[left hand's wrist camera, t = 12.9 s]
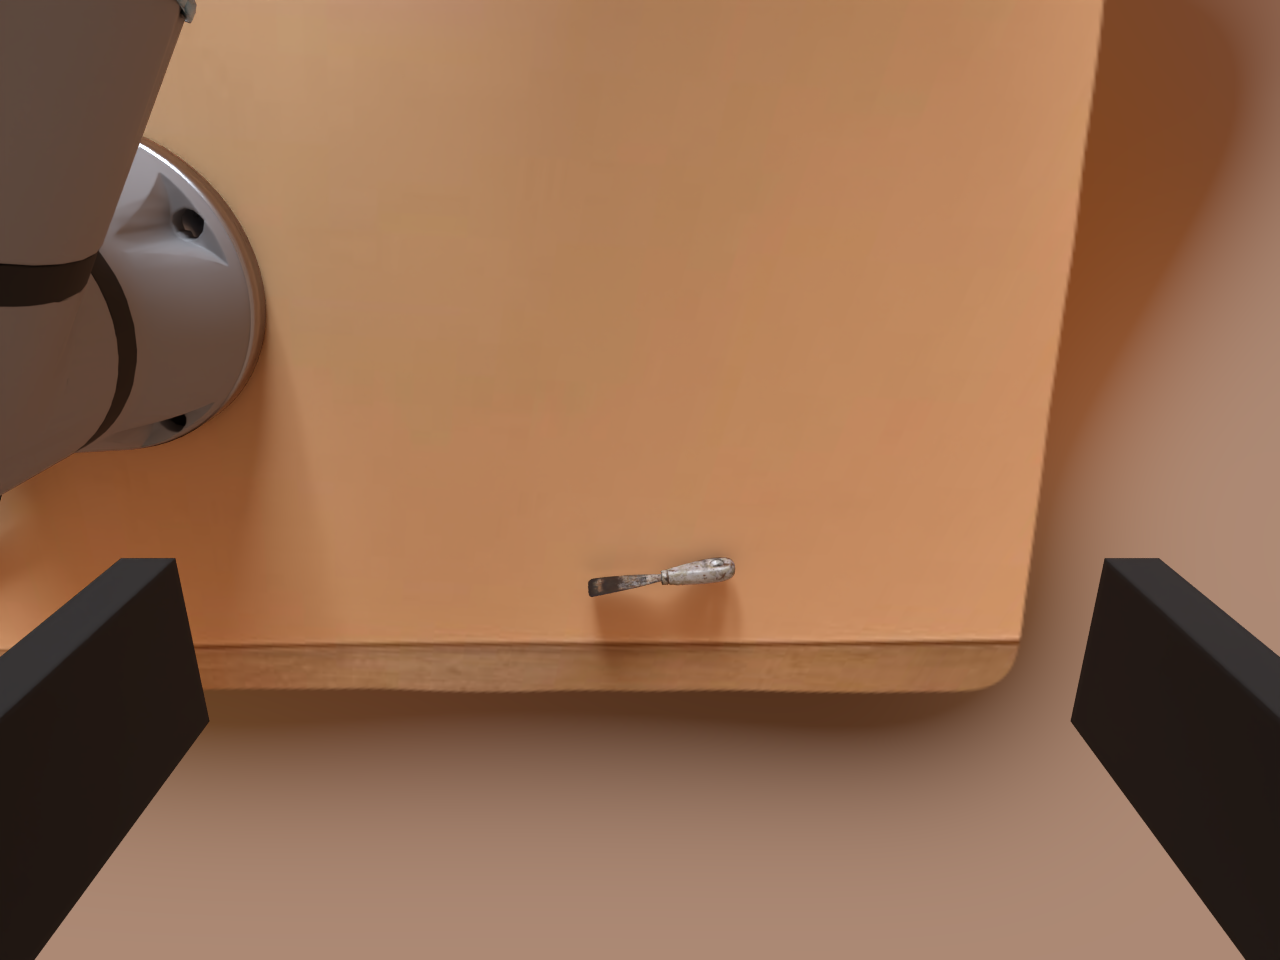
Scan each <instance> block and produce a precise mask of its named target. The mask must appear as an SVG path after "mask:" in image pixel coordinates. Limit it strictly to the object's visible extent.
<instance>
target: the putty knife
mask: <svg viewBox="0 0 1280 960" xmlns="http://www.w3.org/2000/svg"><path fill="white" fill-rule="evenodd" d="M734 574H735V565H734V562H733V561H732V560H731V559H729V558H711V559H704V560H700V561H695V562H691V563H688V564H683V565H680V566H676V567H673V568H670V569H666V570H663V571H661V574H650V575H627V576H613V577H603V578H595V579H591V580H590V581H589V582H588V585H589V586H588V590H589V591H588V593H589V596H591V597H594V596H599V595H604V594H609V593H613V592H618V591H623V590H627V589H632V588H636V587H640V586H644V585H648V584H652V583H655V582H660V581H662V585H668V584H670V585H690V584H705V583H714V582H721V581H725V580H728V579H730V578H732V577H733V575H734Z"/></svg>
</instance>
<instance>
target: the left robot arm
mask: <svg viewBox="0 0 1280 960" xmlns="http://www.w3.org/2000/svg"><path fill="white" fill-rule="evenodd" d="M195 13H196V3H195V0H0V500H1V496H2V494H4V493H5V492H7V491H9V490H11V489H12V488H14V487H16V486H18V485H19V484H21V483H23V482H25V481H26V480H28V479H30V478H31V477H33V476H35V475H37V474H38V473H40V472H42V471H44V470H45V469H47V468H49V467H51V466H52V465H54V464H56V463H58V462H59V461H61V460H63V459H64V458H66V457H68V456H70V455H71V454H73V453H79V452H98V451H117V450H132V449H139V448H145V447H151V446H156V445H160V444H163V443H167V442H170V441H172V440H175V439H177V438H180V437H182V436H184V435H186V434H188V433H190V432H192V431H193V430H195V429H197V428H198V427H200V426H201V425H203V424H204V423H206V422H207V421H209V420H210V419H212V418H213V417H214V416H216V415H217V414H219V413H220V412H221V411H222V410H224V409H225V408H226V407H227V406H228V405H229V404H230V403H231V402H232V401H233V400H234V399H235V398H236V397H237V396H238V394H239V393H240V392H241V390H242V389H243V387H244V386H245V385H246V383H247V381H248V380H249V378H250V376H251V374H252V372H253V370H254V368H255V365H256V363H257V361H258V358H259V355H260V351H261V348H262V344H263V338H264V332H265V319H266V309H265V295H264V288H263V282H262V278H261V274H260V269H259V266H258V263H257V260H256V257H255V254H254V252H253V249H252V247H251V245H250V242H249V240H248V238H247V236H246V234H245V232H244V230H243V228H242V227H241V225H240V223H239V221H238V220H237V218H236V217H235V215H234V214H233V212H232V211H231V209H230V208H229V206H228V205H227V204H226V202H225V201H224V200H223V199H222V197H221V196H220V195H219V193H218V192H217V191H216V190H215V189H214V188H213V187H212V186H211V185H210V184H209V183H208V182H207V180H205V179H204V178H203V177H202V176H201V175H200V174H199V173H198V172H197V171H196V170H195V169H194V168H192V167H191V166H190V165H188V164H187V163H186V162H185V161H183V160H182V159H181V158H179V157H178V156H176V155H175V154H173V153H172V152H170V151H169V150H167V149H166V148H164V147H162V146H160V145H159V144H157V143H155V142H153V141H151V140H149V139H147V138H145V137H143V133H144V130H145V128H146V125H147V122H148V119H149V117H150V114H151V111H152V108H153V106H154V103H155V100H156V97H157V95H158V92H159V89H160V86H161V84H162V81H163V78H164V75H165V73H166V70H167V67H168V64H169V62H170V59H171V56H172V54H173V51H174V48H175V45H176V43H177V40H178V37H179V34H180V32H181V29H182V26H183V23H184V21H185V22H188V23H191V22H192V20H193V17H194V15H195ZM208 722H209V717H208V712H207V708H206V703H205V698H204V693H203V688H202V684H201V679H200V674H199V669H198V664H197V660H196V655H195V650H194V645H193V641H192V636H191V631H190V626H189V621H188V617H187V612H186V607H185V602H184V598H183V593H182V588H181V583H180V578H179V574H178V569H177V564H176V559H175V558H121V559H120V560H118V561H117V562H116V563H115V564H113V565H112V566H111V567H110V568H109V569H107V570H106V571H105V572H104V573H102V574H101V575H100V576H99V577H98V578H96V579H95V580H94V581H93V582H91V583H90V584H89V585H88V586H87V587H85V588H84V589H83V590H82V591H80V592H79V593H78V594H77V595H76V596H74V597H73V598H72V599H71V600H69V601H68V602H67V603H66V604H65V605H63V606H62V607H61V608H60V609H58V610H57V611H56V612H55V613H54V614H52V615H51V616H50V617H49V618H47V619H46V620H45V621H44V622H43V623H41V624H40V625H39V626H38V627H36V628H35V629H34V630H33V631H32V632H30V633H29V634H28V635H27V636H25V637H24V638H23V639H22V640H20V641H19V642H18V643H17V644H16V645H14V646H13V647H12V648H11V649H9V650H8V651H7V652H6V653H5V654H3V655H2V656H1V657H0V960H35V958H36V957H37V956H38V954H39V953H40V951H41V950H42V949H43V947H44V946H45V945H46V943H47V942H48V941H49V939H50V938H51V936H52V935H53V934H54V932H55V931H56V930H57V928H58V927H59V926H60V924H61V923H62V921H63V920H64V919H65V917H66V916H67V915H68V913H69V912H70V911H71V909H72V908H73V906H74V905H75V904H76V902H77V901H78V900H79V898H80V897H81V896H82V894H83V893H84V891H85V890H86V889H87V887H88V886H89V885H90V883H91V882H92V881H93V879H94V878H95V876H96V875H97V874H98V872H99V871H100V870H101V868H102V867H103V866H104V864H105V863H106V861H107V860H108V859H109V857H110V856H111V855H112V853H113V852H114V851H115V849H116V848H117V846H118V845H119V844H120V842H121V841H122V840H123V838H124V837H125V836H126V834H127V833H128V831H129V830H130V829H131V827H132V826H133V825H134V823H135V822H136V821H137V819H138V818H139V816H140V815H141V814H142V812H143V811H144V810H145V808H146V807H147V806H148V804H149V803H150V801H151V800H152V799H153V797H154V796H155V795H156V793H157V792H158V791H159V789H160V788H161V786H162V785H163V784H164V782H165V781H166V780H167V778H168V777H169V776H170V774H171V773H172V771H173V770H174V769H175V767H176V766H177V765H178V763H179V762H180V761H181V759H182V758H183V756H184V755H185V754H186V752H187V751H188V750H189V748H190V747H191V746H192V744H193V743H194V741H195V740H196V739H197V737H198V736H199V735H200V733H201V732H202V731H203V729H204V728H205V726H206V725H207V724H208ZM1071 722H1072V724H1073V725H1074V727H1075V728H1076V729H1077V731H1078V732H1079V733H1080V735H1081V736H1082V737H1083V739H1084V740H1085V742H1086V743H1087V744H1088V746H1089V747H1090V748H1091V750H1092V751H1093V752H1094V754H1095V755H1096V756H1097V758H1098V759H1099V761H1100V762H1101V763H1102V765H1103V766H1104V767H1105V769H1106V770H1107V771H1108V773H1109V774H1110V776H1111V777H1112V778H1113V780H1114V781H1115V782H1116V784H1117V785H1118V786H1119V788H1120V789H1121V791H1122V792H1123V793H1124V795H1125V796H1126V797H1127V799H1128V800H1129V801H1130V803H1131V804H1132V805H1133V807H1134V808H1135V810H1136V811H1137V812H1138V814H1139V815H1140V816H1141V818H1142V819H1143V821H1144V822H1145V823H1146V825H1147V826H1148V827H1149V829H1150V830H1151V831H1152V833H1153V834H1154V836H1155V837H1156V838H1157V840H1158V841H1159V842H1160V844H1161V845H1162V846H1163V848H1164V849H1165V851H1166V852H1167V853H1168V855H1169V856H1170V857H1171V859H1172V860H1173V861H1174V863H1175V864H1176V865H1177V867H1178V868H1179V870H1180V871H1181V872H1182V874H1183V875H1184V876H1185V878H1186V879H1187V881H1188V882H1189V883H1190V885H1191V886H1192V887H1193V889H1194V890H1195V891H1196V893H1197V894H1198V896H1199V897H1200V898H1201V900H1202V901H1203V902H1204V904H1205V905H1206V906H1207V908H1208V909H1209V911H1210V912H1211V913H1212V915H1213V916H1214V917H1215V919H1216V920H1217V921H1218V923H1219V924H1220V926H1221V927H1222V928H1223V930H1224V931H1225V932H1226V934H1227V935H1228V936H1229V938H1230V939H1231V941H1232V942H1233V943H1234V945H1235V946H1236V947H1237V949H1238V950H1239V951H1240V953H1241V954H1242V956H1243V957H1244V958H1245V960H1280V657H1279V656H1278V655H1277V654H1275V653H1274V652H1273V651H1272V650H1271V649H1269V648H1268V647H1267V646H1266V645H1264V644H1263V643H1262V642H1261V641H1259V640H1258V639H1257V638H1256V637H1254V636H1253V635H1252V634H1251V633H1250V632H1248V631H1247V630H1246V629H1245V628H1244V627H1242V626H1241V625H1240V624H1239V623H1237V622H1236V621H1235V620H1234V619H1233V618H1231V617H1230V616H1229V615H1228V614H1226V613H1225V612H1224V611H1223V610H1222V609H1220V608H1219V607H1218V606H1217V605H1215V604H1214V603H1213V602H1212V601H1211V600H1209V599H1208V598H1207V597H1206V596H1204V595H1203V594H1202V593H1201V592H1200V591H1198V590H1197V589H1196V588H1195V587H1193V586H1192V585H1191V584H1190V583H1189V582H1187V581H1186V580H1185V579H1184V578H1182V577H1181V576H1180V575H1179V574H1178V573H1176V572H1175V571H1174V570H1173V569H1171V568H1170V567H1169V566H1168V565H1167V564H1165V563H1164V562H1163V561H1162V560H1160V559H1159V558H1105V559H1104V564H1103V569H1102V574H1101V578H1100V583H1099V588H1098V593H1097V598H1096V602H1095V607H1094V612H1093V617H1092V622H1091V626H1090V631H1089V636H1088V641H1087V645H1086V650H1085V655H1084V660H1083V664H1082V669H1081V674H1080V679H1079V684H1078V688H1077V693H1076V698H1075V703H1074V707H1073V712H1072V717H1071Z"/></svg>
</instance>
